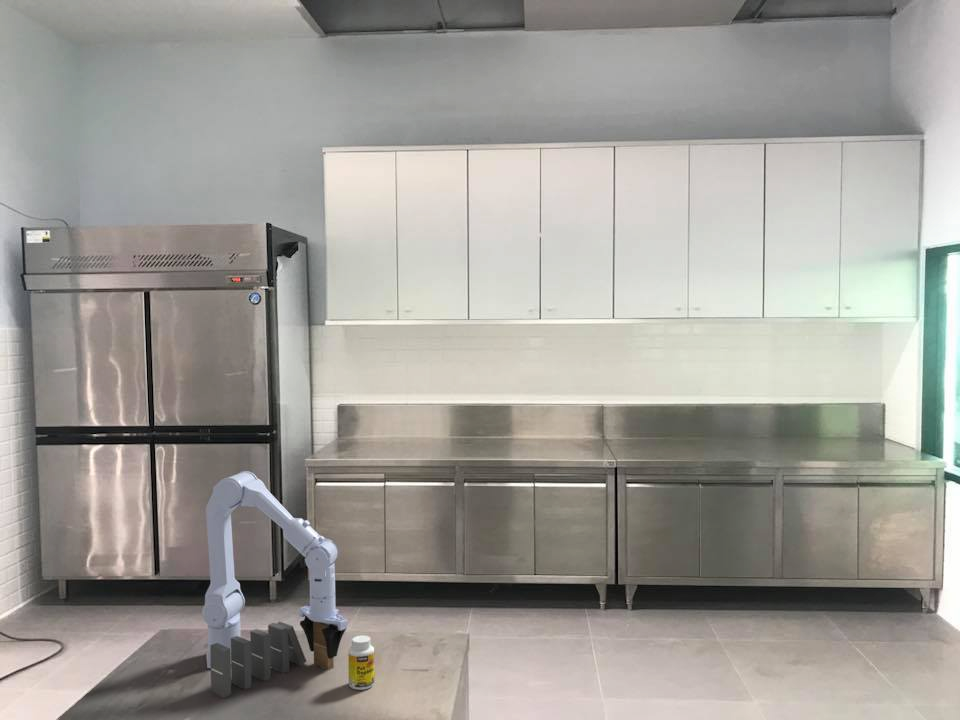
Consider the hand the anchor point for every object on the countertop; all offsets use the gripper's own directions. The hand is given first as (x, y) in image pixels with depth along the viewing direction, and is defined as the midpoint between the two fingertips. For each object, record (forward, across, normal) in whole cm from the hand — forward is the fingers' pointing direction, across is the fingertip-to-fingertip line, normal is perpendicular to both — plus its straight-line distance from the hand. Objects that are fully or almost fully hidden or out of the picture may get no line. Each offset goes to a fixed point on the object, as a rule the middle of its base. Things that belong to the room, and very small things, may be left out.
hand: (323, 653), depth 180 cm
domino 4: (+3, +7, +7) cm, 10 cm away
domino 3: (+3, +7, +12) cm, 14 cm away
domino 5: (+3, +7, +2) cm, 7 cm away
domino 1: (+3, +7, +22) cm, 24 cm away
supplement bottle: (+3, -14, +1) cm, 15 cm away
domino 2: (+3, +7, +17) cm, 19 cm away
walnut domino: (+3, 0, 0) cm, 3 cm away
